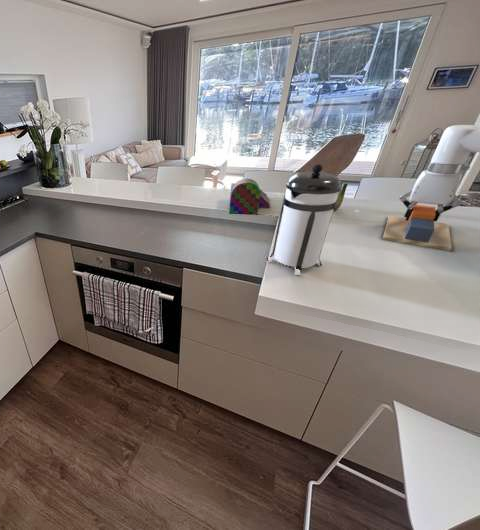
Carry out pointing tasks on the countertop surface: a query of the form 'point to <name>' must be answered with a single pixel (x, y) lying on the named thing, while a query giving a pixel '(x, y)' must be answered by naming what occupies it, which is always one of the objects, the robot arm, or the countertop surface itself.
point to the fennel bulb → (340, 196)
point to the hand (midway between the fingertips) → (419, 220)
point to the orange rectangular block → (423, 212)
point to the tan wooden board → (397, 233)
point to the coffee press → (305, 217)
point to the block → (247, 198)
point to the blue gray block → (419, 229)
